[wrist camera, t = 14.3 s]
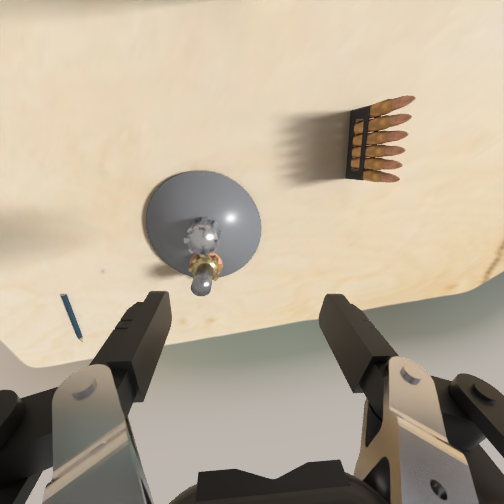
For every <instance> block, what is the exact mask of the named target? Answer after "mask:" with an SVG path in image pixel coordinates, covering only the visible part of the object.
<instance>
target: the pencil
mask: <svg viewBox="0 0 504 504" xmlns="http://www.w3.org/2000/svg"><path fill="white" fill-rule="evenodd" d="M61 297H62V299H63V302H64V304H65V307H66V310H67V312H68V315H69V317H70V320H71V322H72V325H73V327H74V330H75V332H76V334H77V337H78V339H79V340H80V341H82V334H81V331H80V329H79V326H78V324H77V321H76V318H75V316H74V313H73V310H72V308H71V305H70V302H69V300H68V297H67V294H61Z"/></svg>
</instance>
